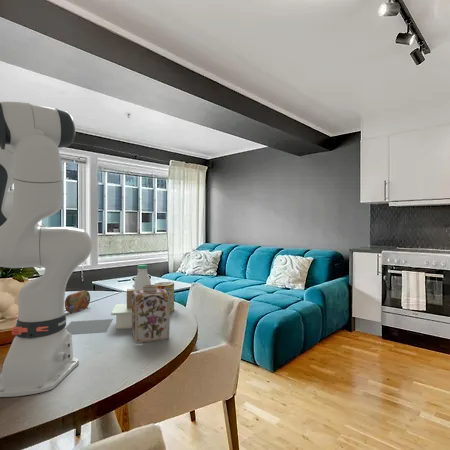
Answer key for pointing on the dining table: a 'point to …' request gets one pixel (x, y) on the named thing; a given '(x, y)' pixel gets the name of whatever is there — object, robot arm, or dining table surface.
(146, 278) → the milk bottle
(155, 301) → the decorative jar
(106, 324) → the mat
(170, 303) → the yellow labeled can
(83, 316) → the dining table surface
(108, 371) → the dining table surface
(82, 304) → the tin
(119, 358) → the dining table surface
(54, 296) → the robot arm
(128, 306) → the lid
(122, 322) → the dish
